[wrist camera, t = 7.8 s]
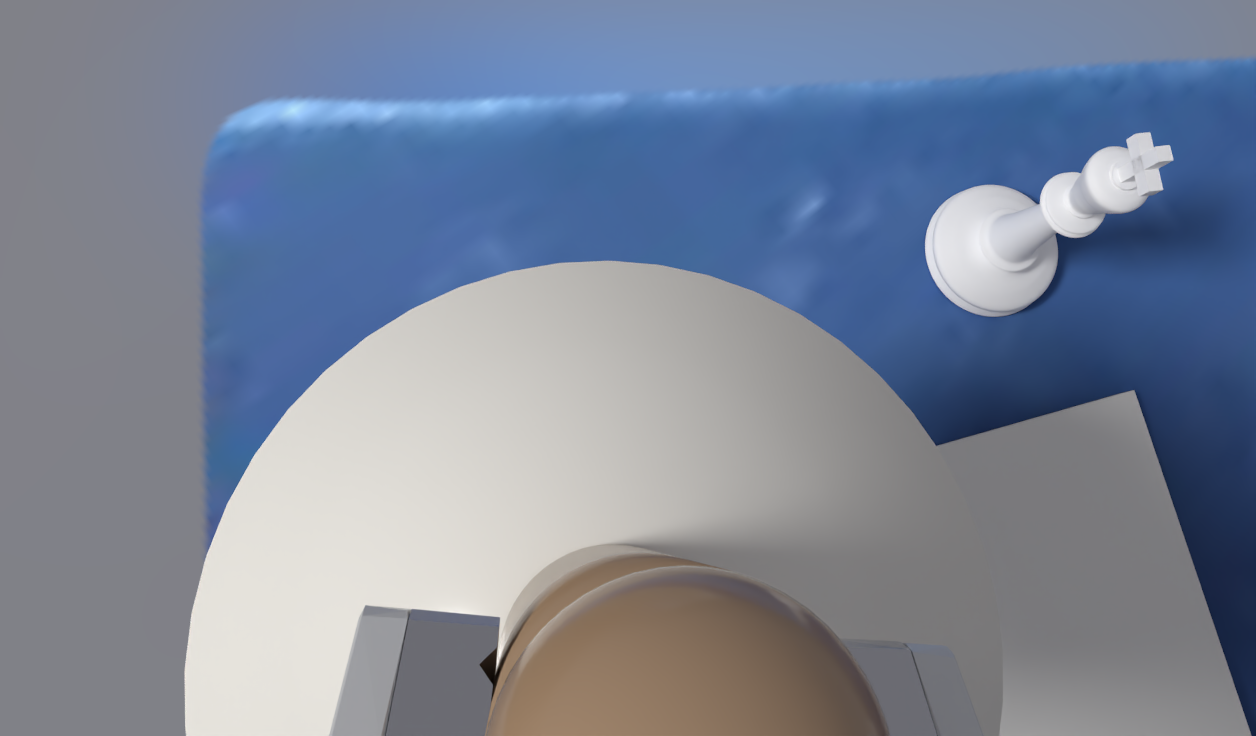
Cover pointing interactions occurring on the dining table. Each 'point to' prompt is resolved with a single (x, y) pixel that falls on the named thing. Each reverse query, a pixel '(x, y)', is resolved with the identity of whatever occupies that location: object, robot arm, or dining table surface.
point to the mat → (1093, 580)
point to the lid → (598, 518)
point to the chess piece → (1032, 227)
